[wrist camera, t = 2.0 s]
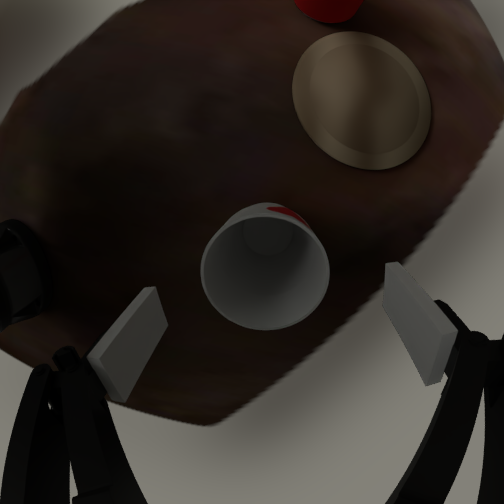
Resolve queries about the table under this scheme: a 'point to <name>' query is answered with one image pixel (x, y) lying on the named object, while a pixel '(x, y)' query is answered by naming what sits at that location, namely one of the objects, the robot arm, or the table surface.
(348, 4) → the beverage can
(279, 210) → the cup
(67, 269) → the table surface
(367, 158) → the plate
